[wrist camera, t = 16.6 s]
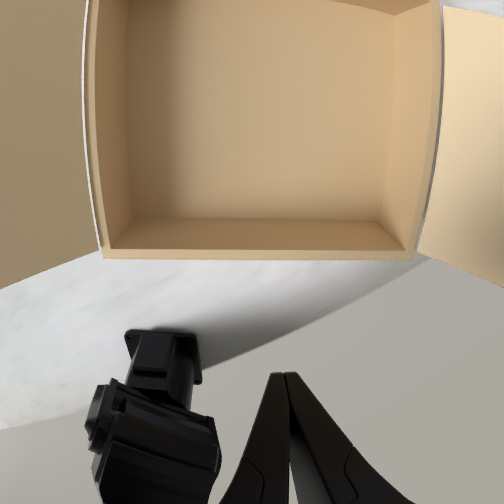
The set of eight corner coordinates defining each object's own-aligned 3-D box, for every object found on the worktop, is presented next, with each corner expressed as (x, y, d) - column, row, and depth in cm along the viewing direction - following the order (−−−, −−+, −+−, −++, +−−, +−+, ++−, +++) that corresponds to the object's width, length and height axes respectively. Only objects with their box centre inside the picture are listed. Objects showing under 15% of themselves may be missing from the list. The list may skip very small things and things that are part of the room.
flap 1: (-20, 298, 11) (-20, 293, 11) (99, 249, 15) (95, 246, 16) (-52, 5, 4) (-51, 9, 4) (88, -17, 9) (85, -13, 9)
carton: (383, 226, 21) (414, 259, 17) (129, 224, 20) (103, 258, 16) (401, 13, 14) (441, -2, 10) (123, -3, 13) (92, -26, 9)
